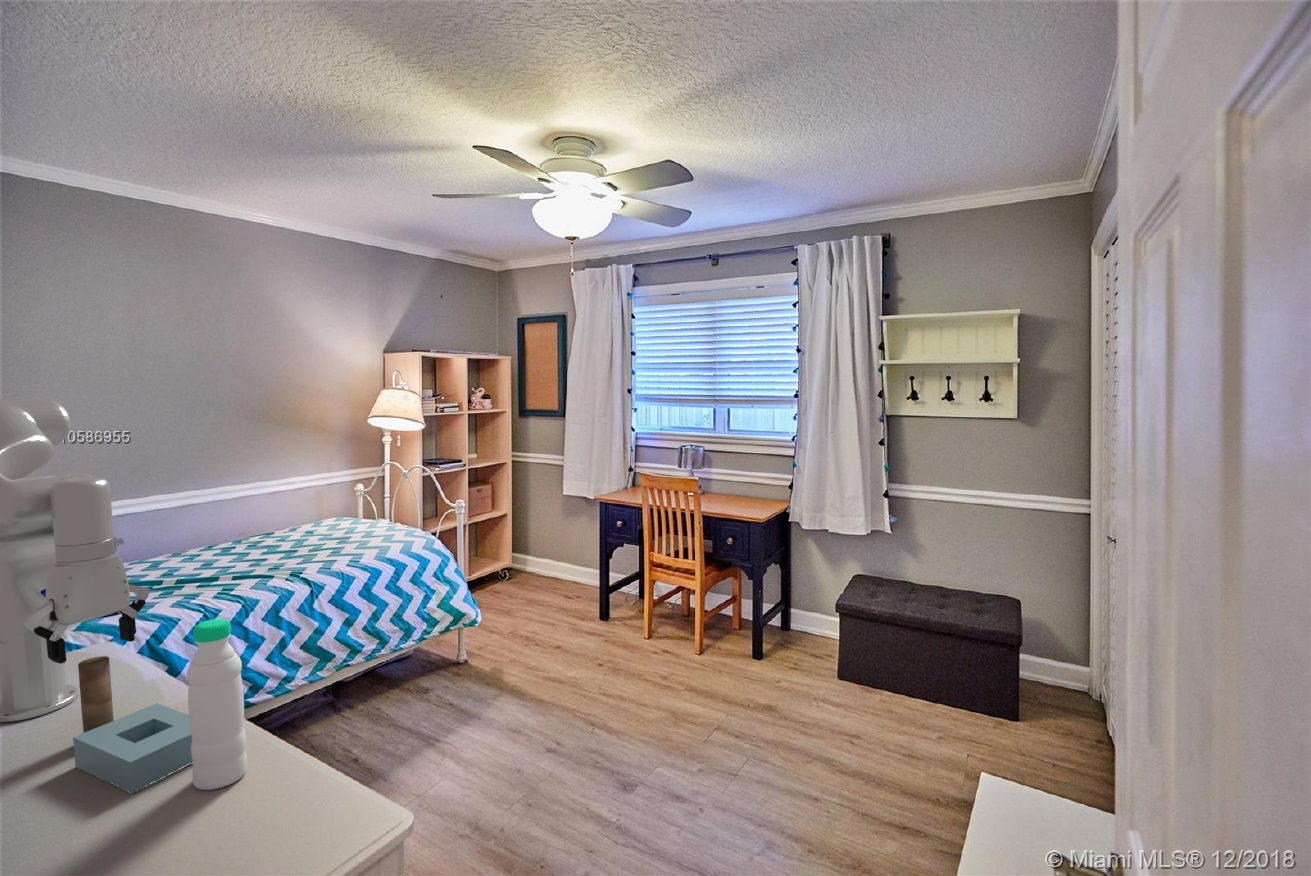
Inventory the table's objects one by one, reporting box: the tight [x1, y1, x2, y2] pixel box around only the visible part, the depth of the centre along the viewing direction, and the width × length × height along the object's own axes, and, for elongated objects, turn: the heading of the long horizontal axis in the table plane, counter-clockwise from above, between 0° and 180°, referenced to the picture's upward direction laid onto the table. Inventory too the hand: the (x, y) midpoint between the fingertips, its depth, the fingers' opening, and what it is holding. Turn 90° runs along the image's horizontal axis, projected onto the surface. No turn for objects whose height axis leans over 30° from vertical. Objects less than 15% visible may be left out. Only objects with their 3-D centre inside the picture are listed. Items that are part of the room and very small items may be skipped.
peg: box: [77, 655, 115, 734], centre depth 110 cm, size 4×4×14 cm
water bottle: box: [186, 618, 248, 791], centre depth 99 cm, size 7×7×25 cm
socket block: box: [72, 703, 193, 794], centre depth 105 cm, size 16×12×5 cm
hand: (94, 650), depth 109 cm, fingers open, 9 cm apart
